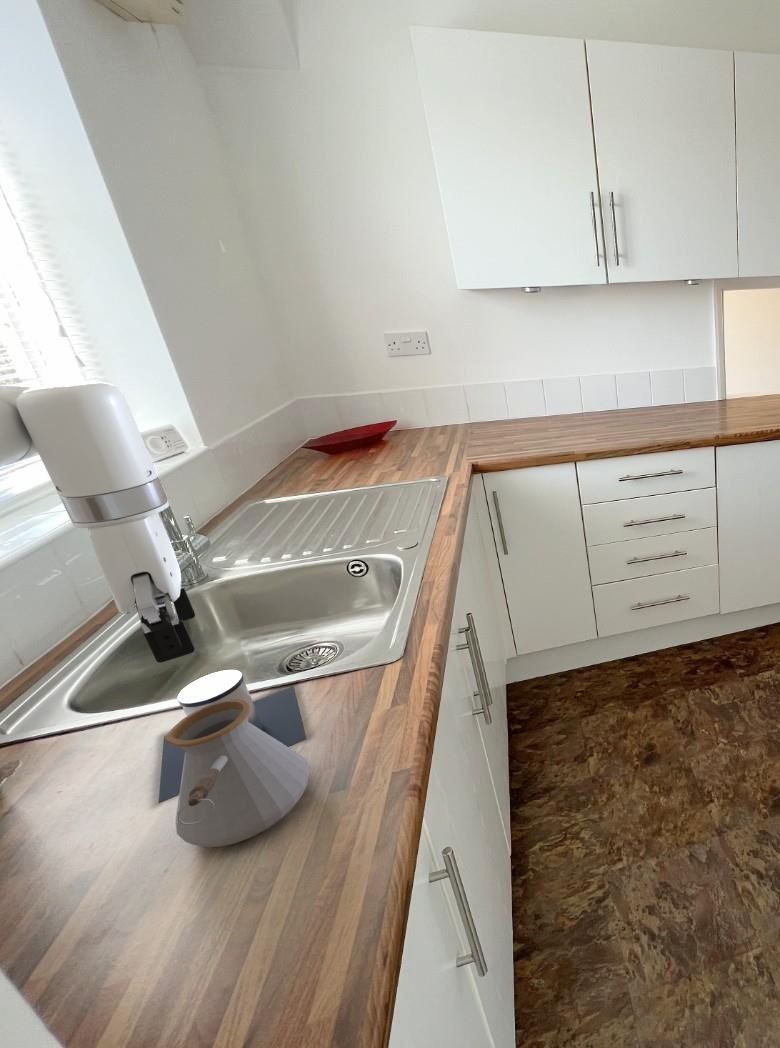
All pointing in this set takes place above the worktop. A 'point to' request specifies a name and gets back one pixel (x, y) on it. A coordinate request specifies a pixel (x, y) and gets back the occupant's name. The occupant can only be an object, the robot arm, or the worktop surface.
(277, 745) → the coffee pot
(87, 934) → the worktop surface
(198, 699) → the canister
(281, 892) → the worktop surface
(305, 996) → the worktop surface
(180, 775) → the mat
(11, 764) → the worktop surface
